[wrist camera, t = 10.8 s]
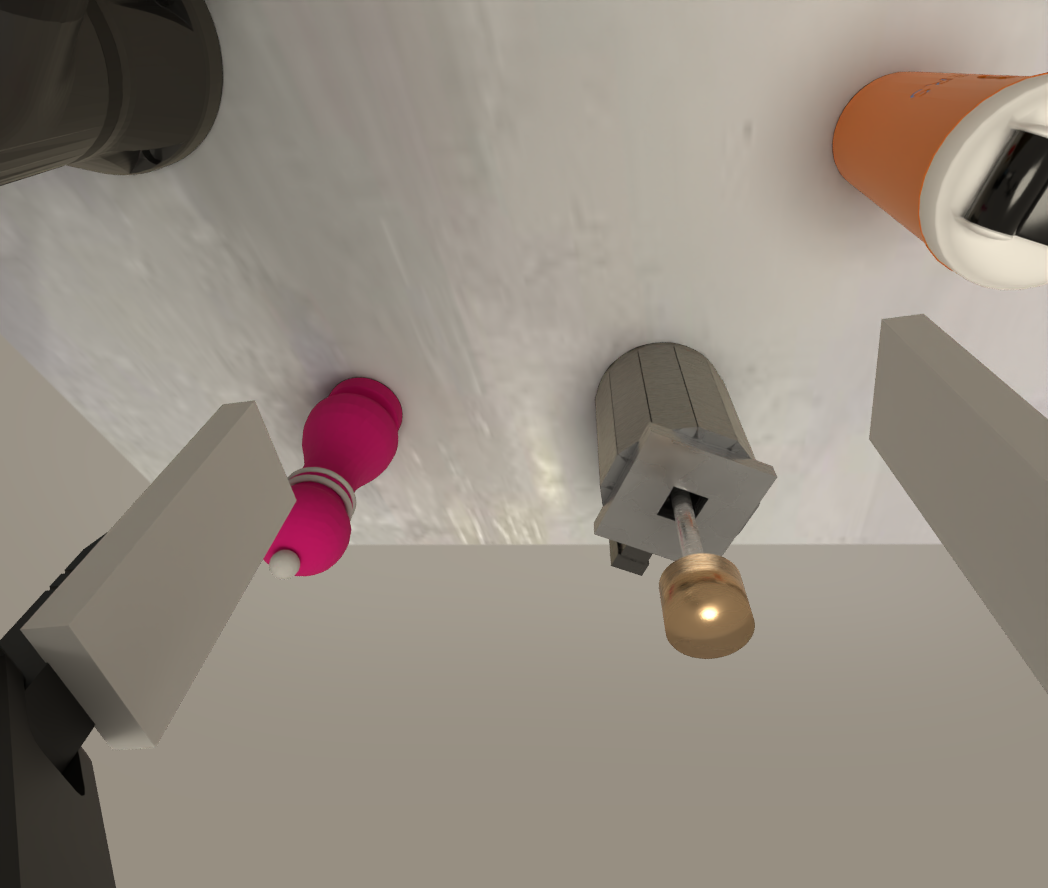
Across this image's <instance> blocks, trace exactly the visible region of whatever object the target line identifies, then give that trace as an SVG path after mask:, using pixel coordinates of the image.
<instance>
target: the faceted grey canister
mask: <svg viewBox="0 0 1048 888" xmlns="http://www.w3.org/2000/svg"><path fill="white" fill-rule="evenodd" d="M595 406H596V424H597V441H598V458H599V475H600V489H601V497H602V504H603V507H602V509H601V511H600V513H599V514H598V516H597V518H596V520H595V522H594V534H595V535H598V536H601V537H604V538H607V539H609V543H610V557H611V566H613V567H617V568H619V569H622V570H626V571H629V572H632V573H635V574H638V575H641V576H642V575H643V573H644V571H645V570H646V568H647V567H648V565H649V559H650V557H651V555H652V554H655V555H659V556H661V557H664V558H667V559H670V560H673V561H676V560H678V559H680V558H682V557H683V555H682V550H681V546H680V541H679V536H678V531H677V526H676V521H675V516H674V511H673V506H672V501H671V496H670V492H671V490H672V489H673V487H677V488H680V489H683V490H686V491H689V494H690V498H691V502H692V507H693V511H694V515H695V519H696V523H697V527H698V531H699V535H700V539H701V543H702V548H703V552H704V553H706V554H714V555H718V556H721V557H722V555H723V554H724V552H725V551H726V550H727V548H728V546H729V545H730V544H731V542H732V541H733V540H734V538H735V537H736V536H737V535H738V534H739V533H740V532H741V531H742V529H743V528H744V526H745V525H746V523H747V522H748V521H749V519H750V518H751V516H752V515H753V513H754V512H755V511H756V509H757V508H758V506H759V504H760V501H761V500H762V498H763V497H764V495H765V494H766V493H767V491H768V490H769V488H770V487H771V485H772V484H773V483H774V481H775V480H776V478H777V475H776V473H775V471H774V469H773V466H770V465H768V464H765V463H762V462H759V461H757V460H756V459H755V457H754V454H753V452H752V449H751V447H750V445H749V442H748V440H747V437H746V435H745V432H744V430H743V428H742V425H741V423H740V420H739V418H738V415H737V413H736V411H735V408H734V406H733V403H732V401H731V398H730V396H729V394H728V391H727V389H726V386H725V384H724V382H723V380H722V379H721V378H720V376H719V375H718V373H717V371H716V369H715V368H714V366H713V365H712V364H711V363H710V361H709V360H708V359H707V358H705V357H704V356H703V355H702V354H700V353H699V352H697V351H696V350H694V349H691V348H689V347H687V346H683V345H680V344H675V343H652V344H647V345H643V346H640V347H637V348H635V349H633V350H631V351H629V352H627V353H625V354H624V355H622V356H621V357H620V358H618V359H617V360H616V361H615V362H614V363H613V364H612V365H611V366H610V367H609V368H608V370H607V371H606V372H605V374H604V376H603V377H602V379H601V382H600V384H599V387H598V391H597V395H596V397H595Z"/></svg>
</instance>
